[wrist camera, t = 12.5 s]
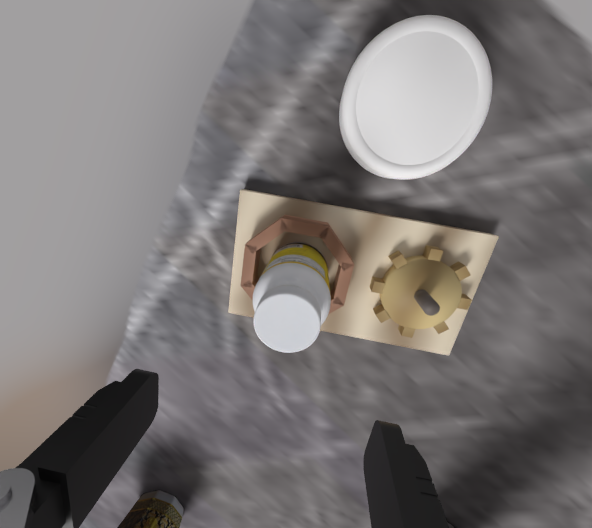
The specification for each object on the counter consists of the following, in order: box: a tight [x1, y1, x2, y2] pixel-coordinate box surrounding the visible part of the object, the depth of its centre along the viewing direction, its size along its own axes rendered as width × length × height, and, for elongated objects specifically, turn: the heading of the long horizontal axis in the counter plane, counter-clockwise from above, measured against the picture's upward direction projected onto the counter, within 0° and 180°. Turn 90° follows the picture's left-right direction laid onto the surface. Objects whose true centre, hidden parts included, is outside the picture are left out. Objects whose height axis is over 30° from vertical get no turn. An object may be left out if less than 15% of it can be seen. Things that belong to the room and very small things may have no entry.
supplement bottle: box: [253, 242, 331, 353], centre depth 21 cm, size 5×5×10 cm
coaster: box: [339, 15, 492, 180], centre depth 20 cm, size 10×10×4 cm
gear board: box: [228, 189, 499, 355], centre depth 24 cm, size 22×12×5 cm, turn 81°
